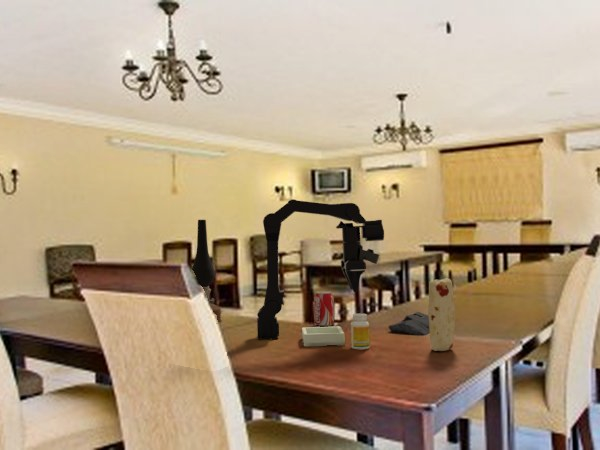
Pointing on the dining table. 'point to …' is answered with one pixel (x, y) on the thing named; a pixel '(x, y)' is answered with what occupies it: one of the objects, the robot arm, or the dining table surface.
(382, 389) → the dining table surface
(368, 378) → the dining table surface
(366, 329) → the supplement bottle
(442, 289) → the food model
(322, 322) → the soda can
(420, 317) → the dark slate chunk
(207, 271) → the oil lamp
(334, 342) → the bin
